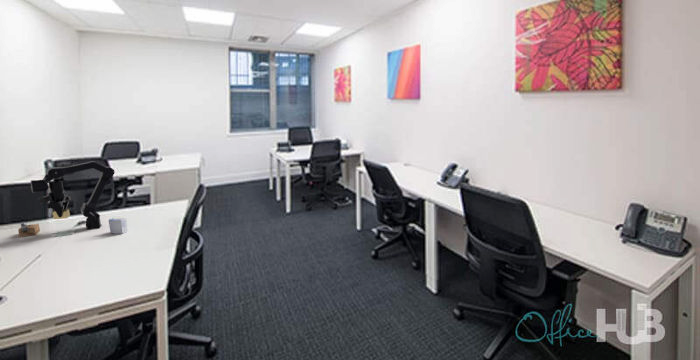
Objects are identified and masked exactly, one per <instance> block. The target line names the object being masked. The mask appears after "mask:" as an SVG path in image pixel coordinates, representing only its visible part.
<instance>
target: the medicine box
mask: <svg viewBox="0 0 700 360" xmlns="http://www.w3.org/2000/svg"><path fill="white" fill-rule="evenodd" d="M108 224H109V225H108V226H109V232H110V234H121V235H123V234H125V233H127V231H128V232H129V229H128V222H127V217H119V216H118V217H116V216H114V217H111V218H109V219H108Z"/></svg>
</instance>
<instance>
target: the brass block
mask: <svg viewBox="0 0 700 360" xmlns="http://www.w3.org/2000/svg"><path fill="white" fill-rule="evenodd" d="M70 216H71V212H70V209H67V208H66V210H63V213H62V217H59V216H58V215H57V213H56V212H55V210H54V211H53V212H52V218H53V220H59V219H60V220H62V219H68V218H69V217H70Z"/></svg>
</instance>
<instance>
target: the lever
mask: <svg viewBox="0 0 700 360" xmlns="http://www.w3.org/2000/svg"><path fill="white" fill-rule="evenodd" d="M26 225H27V222H21V223H20V228H21V229H22V232H27V231H29V230H28V227H27V226H26Z"/></svg>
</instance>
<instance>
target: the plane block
mask: <svg viewBox="0 0 700 360" xmlns="http://www.w3.org/2000/svg"><path fill="white" fill-rule="evenodd" d="M26 226H27V227H28V230H29V231H27V232H22V229H21V227H20V228H18V229H17V231H18V234H19V238H21V237H22V238H23V237H29V236H36V235H37V234H38V233H40V232H41V228H40V224H39V223H36V224H26Z"/></svg>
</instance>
